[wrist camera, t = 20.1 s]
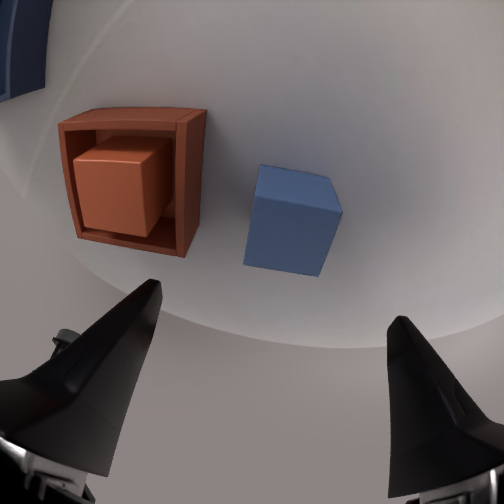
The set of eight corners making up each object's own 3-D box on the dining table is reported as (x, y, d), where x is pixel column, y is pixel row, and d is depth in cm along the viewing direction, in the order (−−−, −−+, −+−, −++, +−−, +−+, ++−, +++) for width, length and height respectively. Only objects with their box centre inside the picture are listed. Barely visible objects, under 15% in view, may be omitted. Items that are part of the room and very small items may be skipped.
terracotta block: (116, 193, 16) (84, 227, 13) (112, 135, 14) (72, 159, 10) (172, 200, 16) (146, 238, 13) (172, 138, 14) (141, 162, 11)
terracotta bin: (102, 210, 17) (77, 238, 15) (92, 108, 13) (57, 123, 10) (199, 225, 18) (184, 258, 15) (207, 109, 13) (187, 121, 10)
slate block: (250, 223, 17) (243, 265, 14) (260, 164, 15) (254, 195, 12) (312, 234, 17) (318, 277, 14) (329, 177, 15) (343, 212, 12)
